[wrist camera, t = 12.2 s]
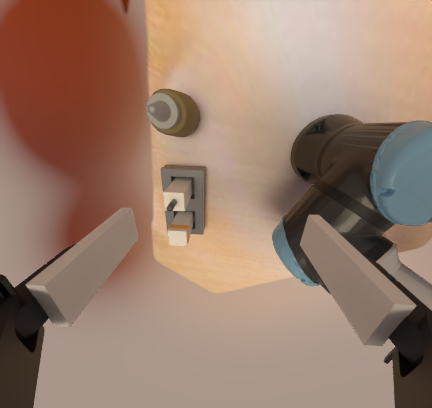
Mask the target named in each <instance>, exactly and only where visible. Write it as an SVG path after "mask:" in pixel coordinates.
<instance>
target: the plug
mask: <svg viewBox="0 0 432 408" xmlns="http://www.w3.org/2000/svg"><path fill="white" fill-rule="evenodd" d="M194 221H195V219H194V211H178V212H177V214H176V216H175V218H174V220H173V222H172V224H171V225H170V227H169V229H168V236H169V245H176V246H187V244H188V242H189V238H190V234H191V231H192V228H193V224H194Z"/></svg>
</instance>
